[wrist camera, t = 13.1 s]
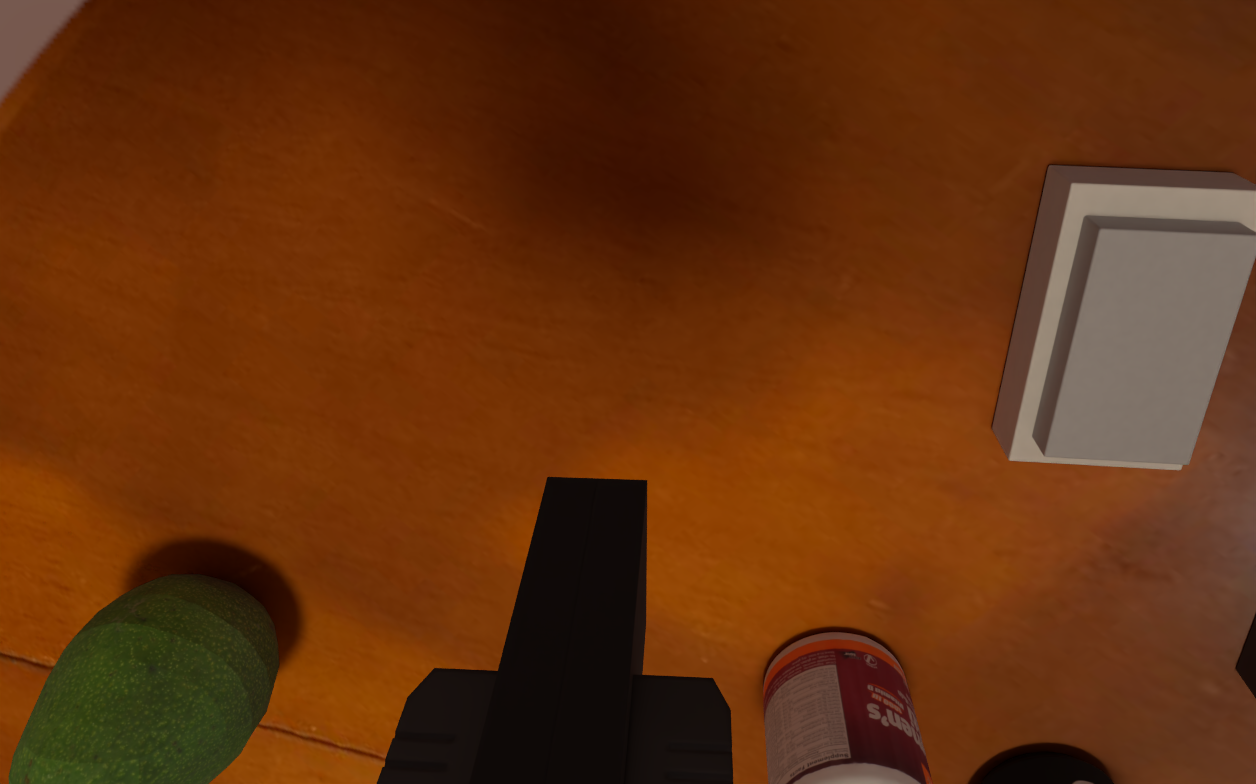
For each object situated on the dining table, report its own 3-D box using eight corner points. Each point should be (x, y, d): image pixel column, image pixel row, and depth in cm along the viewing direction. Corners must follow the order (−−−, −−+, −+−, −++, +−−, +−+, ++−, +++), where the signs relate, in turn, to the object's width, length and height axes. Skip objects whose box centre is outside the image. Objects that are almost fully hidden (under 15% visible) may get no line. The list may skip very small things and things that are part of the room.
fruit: (313, 688, 46) (193, 930, 35) (144, 666, 46) (-28, 901, 35) (305, 545, 42) (168, 766, 31) (121, 522, 42) (-78, 735, 32)
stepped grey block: (1047, 164, 33) (1087, 194, 30) (1233, 172, 33) (1295, 203, 29) (991, 429, 37) (1019, 481, 34) (1153, 438, 37) (1199, 492, 34)
